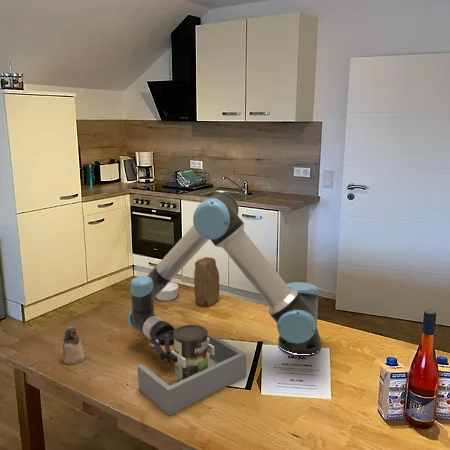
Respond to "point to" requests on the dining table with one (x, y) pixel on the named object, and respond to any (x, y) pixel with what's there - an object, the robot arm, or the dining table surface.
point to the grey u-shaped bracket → (195, 379)
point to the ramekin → (168, 292)
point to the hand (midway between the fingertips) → (199, 357)
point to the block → (206, 281)
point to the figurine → (72, 347)
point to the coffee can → (191, 350)
